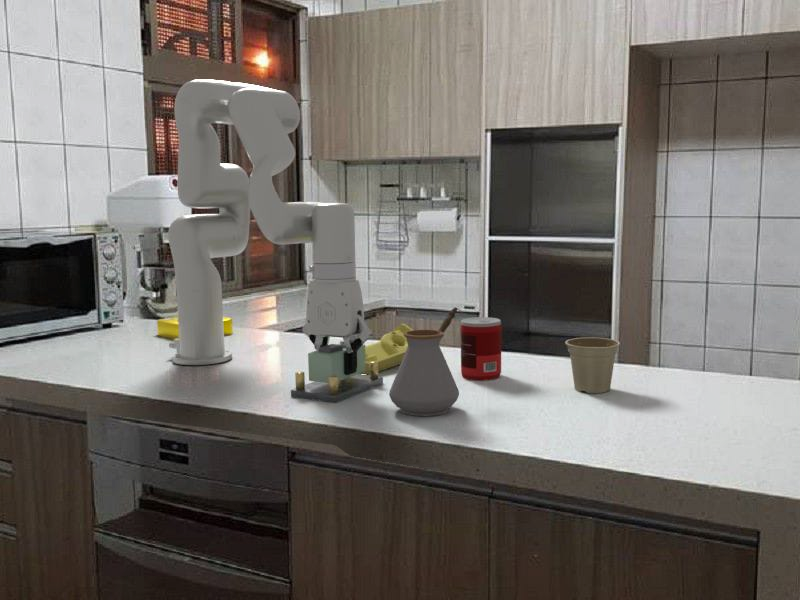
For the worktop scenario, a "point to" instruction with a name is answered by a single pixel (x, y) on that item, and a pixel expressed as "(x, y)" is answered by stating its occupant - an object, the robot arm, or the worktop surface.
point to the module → (332, 362)
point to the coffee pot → (425, 374)
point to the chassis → (336, 386)
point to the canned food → (481, 348)
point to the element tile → (171, 327)
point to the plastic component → (388, 349)
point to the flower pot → (592, 363)
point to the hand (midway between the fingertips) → (337, 370)
